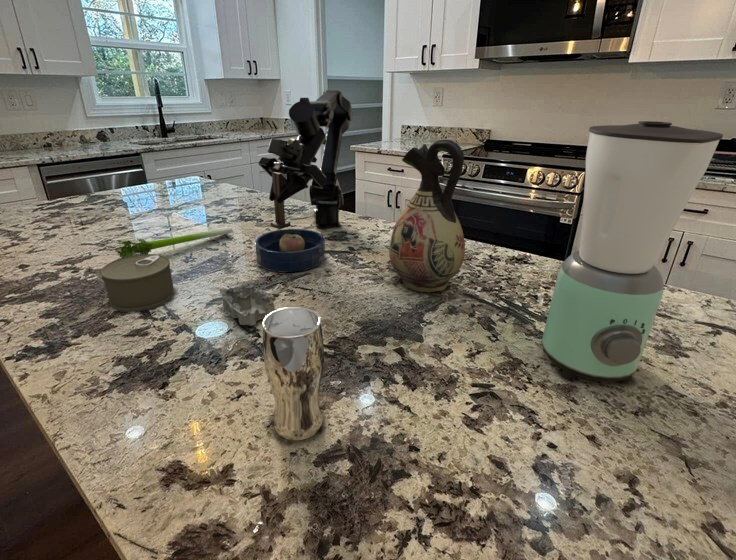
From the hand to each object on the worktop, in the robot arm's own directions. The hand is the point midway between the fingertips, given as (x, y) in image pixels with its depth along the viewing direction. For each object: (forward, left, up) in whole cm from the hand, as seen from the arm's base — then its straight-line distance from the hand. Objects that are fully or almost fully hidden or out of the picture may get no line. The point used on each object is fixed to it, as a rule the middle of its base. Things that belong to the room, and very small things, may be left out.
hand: (274, 201), depth 98 cm
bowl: (-3, +4, -13) cm, 14 cm away
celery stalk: (+24, -10, -14) cm, 30 cm away
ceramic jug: (-29, +25, -14) cm, 41 cm away
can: (+28, +16, -14) cm, 35 cm away
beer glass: (+3, +57, -14) cm, 59 cm away
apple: (-3, +4, -13) cm, 14 cm away
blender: (-42, +55, -14) cm, 71 cm away
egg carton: (+8, +27, -14) cm, 32 cm away
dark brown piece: (-1, -1, -7) cm, 7 cm away
